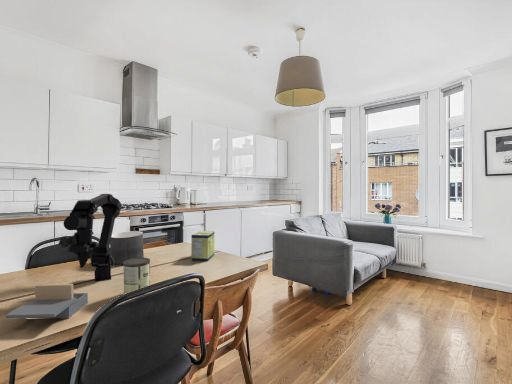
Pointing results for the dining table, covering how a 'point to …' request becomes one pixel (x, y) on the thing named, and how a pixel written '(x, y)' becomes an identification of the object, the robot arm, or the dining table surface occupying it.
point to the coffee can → (136, 274)
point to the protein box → (202, 245)
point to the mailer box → (73, 306)
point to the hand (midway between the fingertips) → (82, 267)
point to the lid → (46, 302)
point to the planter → (126, 246)
